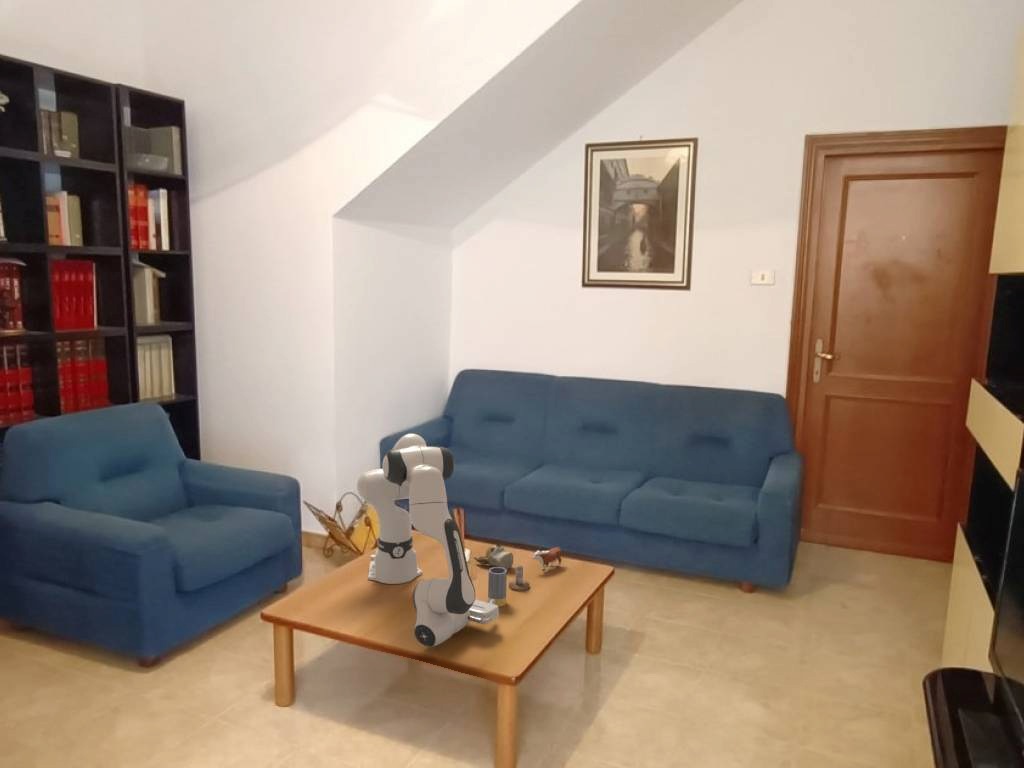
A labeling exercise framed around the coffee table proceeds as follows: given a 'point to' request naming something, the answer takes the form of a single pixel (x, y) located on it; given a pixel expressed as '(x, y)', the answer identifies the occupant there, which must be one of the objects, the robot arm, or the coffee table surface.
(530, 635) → the coffee table surface
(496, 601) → the sleeve
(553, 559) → the bull figurine
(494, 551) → the ceramic sculpture
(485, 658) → the coffee table surface
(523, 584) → the pin stand
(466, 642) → the coffee table surface
